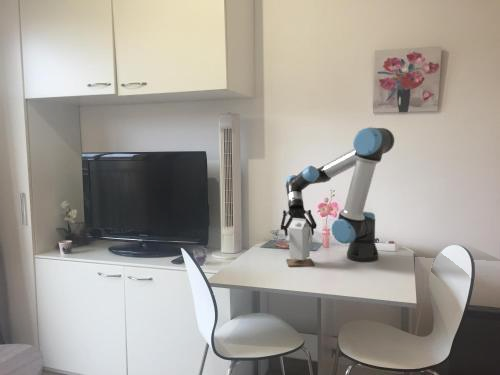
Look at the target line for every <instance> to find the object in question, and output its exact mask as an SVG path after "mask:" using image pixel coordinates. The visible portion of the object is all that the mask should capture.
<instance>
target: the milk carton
mask: <svg viewBox="0 0 500 375" xmlns="http://www.w3.org/2000/svg"><path fill="white" fill-rule="evenodd" d="M288 228H289V234H290V243H288V246H289V248H288V250H289V254H288V256H289V259H298V260H304V259H306V258H310V254H311V253H310V243H311V242H310V235H309V225H308V224H307V222H306V219H300V218H293V220H292V222H291V224H290V225H289V227H288Z"/></svg>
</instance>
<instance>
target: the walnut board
mask: <svg viewBox="0 0 500 375" xmlns="http://www.w3.org/2000/svg"><path fill="white" fill-rule="evenodd" d="M285 262H286V263H287V264H286V265H287V266H288V268H302V267H303V268H304V267H307V268H308V267H315V263H314V261H313V260H312V257H311V258H310V257H308V258H306V259H304V260H298V259H292V258H286V261H285Z"/></svg>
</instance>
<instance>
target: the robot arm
mask: <svg viewBox="0 0 500 375" xmlns="http://www.w3.org/2000/svg"><path fill="white" fill-rule="evenodd" d="M352 141H353V142H352V144H353V148H352V149H351V150H349V151H347V152H345V153H343V154H342V155H340V156H338V157H336V158H335V159H333V160H331V161H329V162H327V163H326V164H324V165H323V166H320V167H319V168H316V167H315V166H314V165H308V166H306V167H305V168H303V170H302V171H301V172H299V173H298V174H297V175H295V174H292V175H289V176H288V177H286V180H285V189H286V195H287V203H288V204H287V206H288V210H287V211H286V210H285V209H283V211H282V219H281V224H280V230H283V231H284V236H285V237H286V236H287V243H288V244H289V243H290V234H289V226H290V224H291V222H292V220H293V218H300V219H306V222H307V224H308V225H309V239H310V243H313V240H314V239H313V236H314V234H315V231H314V230H315V229H317V226H318V224H317V223H316V220H315V218H314V216H313V215H312V210H311V209H308V210H305V206H304V205H305V204H304V198H303V190H304V189H305V188H307V187H308V186H310V185H313V184H321V183H326V182H330V181H331V179H332V178H334V177H336V176H338V175H340V174H342V173H344V172H345V171H348V170H350V169H351V168H353V167H354V169H353V173H352V176H351V181H350V185H349V188H348V193H347V195H346V196H347V197H346V199H345V203H344V207H343V209H341V210H340V211H339V213H338V216H337V219H336V220H334V221H333V222H332V224H331V233H332V236H333V237H334V240H336V241H337V242H339V243H340V244H345V245H346V244H349V245H348V248H347V251H346V258H347V259H349V260H351V261H354V262H365V263H366V262H368V263H370V262H374V261H377V260H379V252H378V248H377V245H376V215H375V213H373V212H371V211H364V209H365V206H366V202H367V198H368V195H369V191H370V188H371V184H372V180H373V177H374V173H375V169H376V165H377V164H378V163H380V162H382V158H383V155H384V154H387V153H388V152H390V151H391V150H392V149H393V147H394V145H395V136H394V134H393V132H392V131H390V130H389V129H388V128H386V127H385V128H384V127H372V126H371V127H370V126H369V127H365V128H362V129H361V130H359V131H358V132H357V133H356V134H355V136H354V138H353V140H352ZM288 215H289V216H290V217H289V218H288V220H287V222H286V217H287V216H288ZM306 216H307V217H308V218H307V217H306ZM285 222H286V224H285Z"/></svg>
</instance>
